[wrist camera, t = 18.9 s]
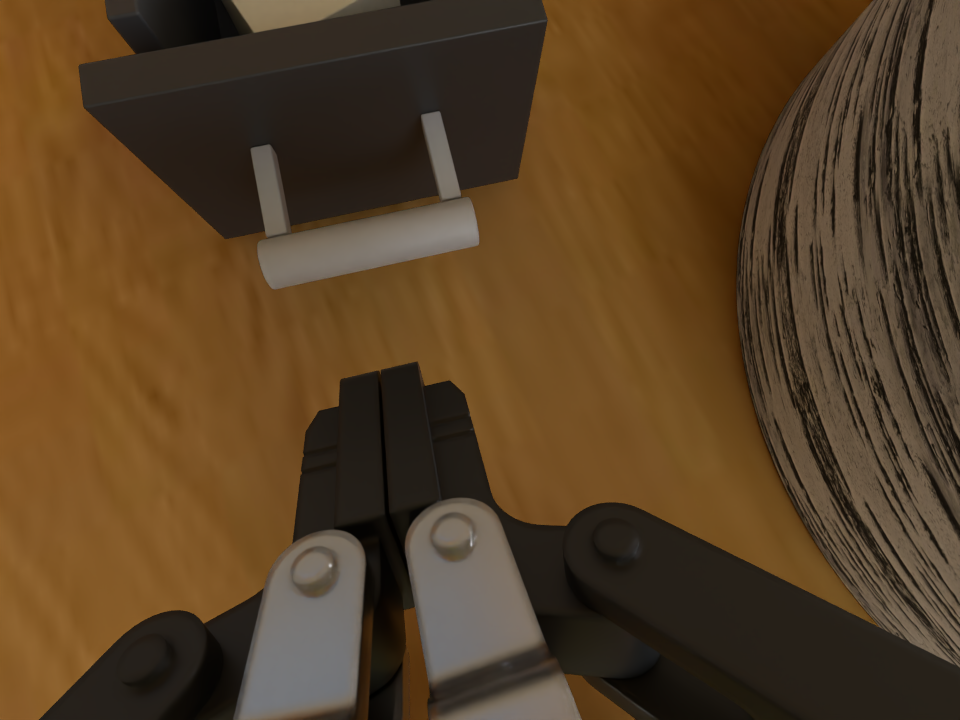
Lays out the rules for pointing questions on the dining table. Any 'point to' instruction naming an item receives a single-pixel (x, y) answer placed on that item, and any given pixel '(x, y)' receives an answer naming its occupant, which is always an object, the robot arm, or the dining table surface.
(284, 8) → the block
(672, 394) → the dining table surface
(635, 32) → the dining table surface
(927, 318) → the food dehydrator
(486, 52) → the drawer
